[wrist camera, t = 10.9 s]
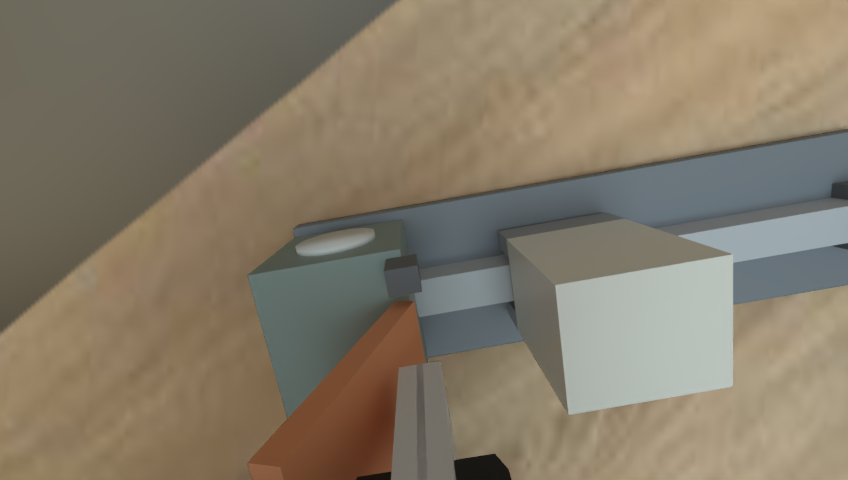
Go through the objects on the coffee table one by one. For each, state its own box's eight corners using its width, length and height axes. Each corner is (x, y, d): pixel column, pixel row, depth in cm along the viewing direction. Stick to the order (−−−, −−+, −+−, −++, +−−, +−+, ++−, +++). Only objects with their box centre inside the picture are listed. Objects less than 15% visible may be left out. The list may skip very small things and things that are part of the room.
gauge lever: (403, 401, 17) (246, 683, 8) (382, 301, 16) (181, 507, 7) (445, 404, 16) (322, 709, 8) (426, 300, 15) (263, 521, 7)
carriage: (509, 315, 23) (568, 414, 15) (497, 231, 22) (555, 285, 14) (611, 297, 23) (732, 386, 15) (605, 212, 22) (733, 254, 14)
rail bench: (332, 364, 26) (288, 489, 16) (298, 224, 24) (225, 276, 14) (838, 276, 25) (1088, 351, 16) (847, 129, 23) (1139, 117, 14)
